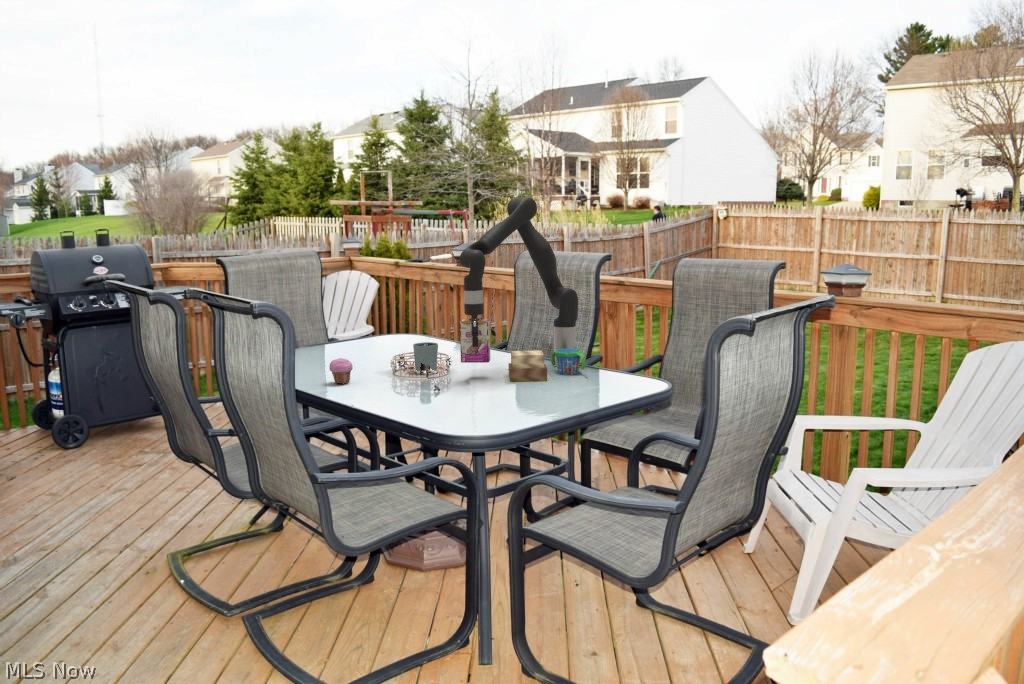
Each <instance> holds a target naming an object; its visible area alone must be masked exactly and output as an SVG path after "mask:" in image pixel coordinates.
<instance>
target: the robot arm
mask: <svg viewBox="0 0 1024 684" xmlns="http://www.w3.org/2000/svg"><path fill="white" fill-rule="evenodd" d="M506 212H507V215H508V216H507V217H506V218H504V219H503V220H502V221H500V222H498V223H497V224H495V225H493V226H492V227H491V228H490V229H488V230H487V231H485V233H484V234H483V235H482V236H481V237H480V238H479V239H478V240H476V241H475V242H473V243H472V244H470V245H468V246H467V247H466V248H464V249H463V250H462V252H461V253H460V255H459V263H460V265H461V266H462V267H463V268H466V269H469V273H468V274H466V275H465V276H464V278H463V290H464V292H463V306H464V309H463V310H464V311H463V312H464V313H463V314H464V315H466V316H471V318H469V321H471V324H470V331H471V332H472V344H473V347H478V336H479V334H478V331H479V327H478V321H480V318H479V317H478V316H482V315H483V314H484V313H485V306H484V305H485V304H484V303H485V301H484V300H485V299H484V291H483V290H484V289H483V277H484V272H485V268H486V257H485V256H488V255H490V254H492V253H493V252H494V251H495V250H496V249H497V248H498V247H499V246H500V245H502V243H503V242H504V241H505V240H506V239H507V238H508V237H510V236H511V235H512V234H513V233H514V232H515V231H517V232H518V234H519V235H520V237H521V239H522V241H523V243H524V245H525V247H526V250H527V251H528V254H529V256H530V258H531V261H532V262H533V264H534V266H535V268H536V270H537V273H538V275H539V277H540V279H541V280H542V283H543V285H544V288H545V291H546V293H547V296H548V299H549V301H550V304H551V305H552V307H554V309H558V316H557V317H556V318H555V319H554V320H553V353H554V352H555V351H556V350H559V349H578V348H577V347H578V346H577V344H576V343H577V338H576V336H577V335H576V334H577V333H576V332H577V331H576V329H577V320H578V318H579V317H578V315H579V296H578V293H577V291H576V290H575V289H573V288H569V287H564V285H563V284H562V282H561V280H560V278H559V276H558V270H557V269H558V268H557V267H558V265H557V258H556V255H555V252H554V250H553V249H552V248H553V247H552V246H551V244H550V242H549V241H548V240H547V239H546V238H545V237H544V236H543V235H542V234H541V233H540V232H539V230H537V229H536V228H535V226H534V225H533V223H532V221H531V220H532V219H533V218H534V217H535V216H536V215H537V212H538V204H537V202H536V200H535V199H533V197H530V196H529V197H528V196H523V197H516V198H512V199H510V200H509V201H508V203H507V206H506ZM473 331H477V333H473ZM555 362H556V365H554V366H557V367H556V368H558V365H557V359H556V356H555Z"/></svg>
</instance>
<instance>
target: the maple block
mask: <svg viewBox="0 0 1024 684" xmlns="http://www.w3.org/2000/svg"><path fill="white" fill-rule="evenodd" d="M510 363H511V365H512V368H513V369H519V368H544V363H545V353H544V352H543V350H541V349H540V350H539V349H538V350H510Z"/></svg>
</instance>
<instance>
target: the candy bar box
mask: <svg viewBox="0 0 1024 684" xmlns="http://www.w3.org/2000/svg"><path fill="white" fill-rule="evenodd" d="M469 319H470V318H469ZM469 319H463V318H462V319H461V320H460V321H459V337H460V338H459V339H460V340H459V341H460V363H462V364H463V363H465V364H466V363H470V364H473V363H476V364H477V363H480V364H481V363H483V364H484V363H485V364H486V363H490V361H491V333H490V331H491V330H490V329H491V327H490V326H491V325H490V323H491V322H490V321H491V320H490V319H488V318H486V319H483V318H482V319H480V318H479V319H480V321H478V327H479V331H478V334H479V336H478V347H473V344H472V332H471V331H470V324H471V321H469ZM473 333H477V331H473Z"/></svg>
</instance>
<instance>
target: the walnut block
mask: <svg viewBox="0 0 1024 684" xmlns="http://www.w3.org/2000/svg"><path fill="white" fill-rule="evenodd" d="M546 365H547V364H545V362H544V368H519V369H513V368H512V365H511V362H508V374H509V379H510V382H536V381H547V373H548V367H547V366H546Z"/></svg>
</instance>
